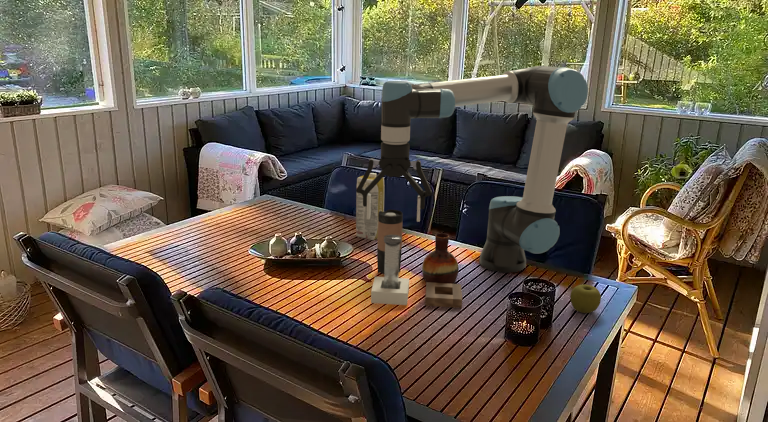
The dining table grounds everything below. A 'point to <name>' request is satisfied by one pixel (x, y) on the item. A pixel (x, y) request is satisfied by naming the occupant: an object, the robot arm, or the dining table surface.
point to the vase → (440, 263)
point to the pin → (391, 261)
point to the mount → (443, 295)
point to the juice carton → (370, 226)
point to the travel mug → (388, 226)
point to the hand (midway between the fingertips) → (393, 219)
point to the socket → (390, 292)
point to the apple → (585, 298)
